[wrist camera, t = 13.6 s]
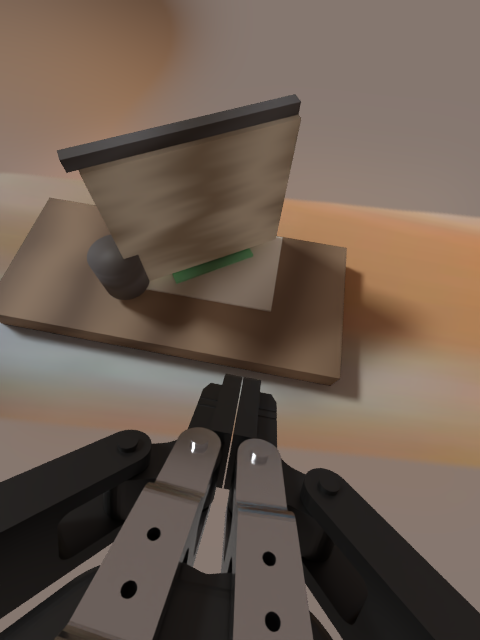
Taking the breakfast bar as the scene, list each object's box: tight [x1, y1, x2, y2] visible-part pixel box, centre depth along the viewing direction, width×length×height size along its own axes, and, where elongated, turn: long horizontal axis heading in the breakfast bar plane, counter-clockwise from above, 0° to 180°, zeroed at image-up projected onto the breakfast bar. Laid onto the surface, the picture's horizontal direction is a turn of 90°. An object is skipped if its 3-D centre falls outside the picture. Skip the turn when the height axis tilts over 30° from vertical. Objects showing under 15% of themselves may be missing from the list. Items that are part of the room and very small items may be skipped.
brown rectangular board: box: [0, 198, 347, 386], centre depth 23 cm, size 24×10×2 cm, turn 79°
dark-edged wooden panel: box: [57, 95, 301, 300], centre depth 18 cm, size 12×3×10 cm, turn 113°
